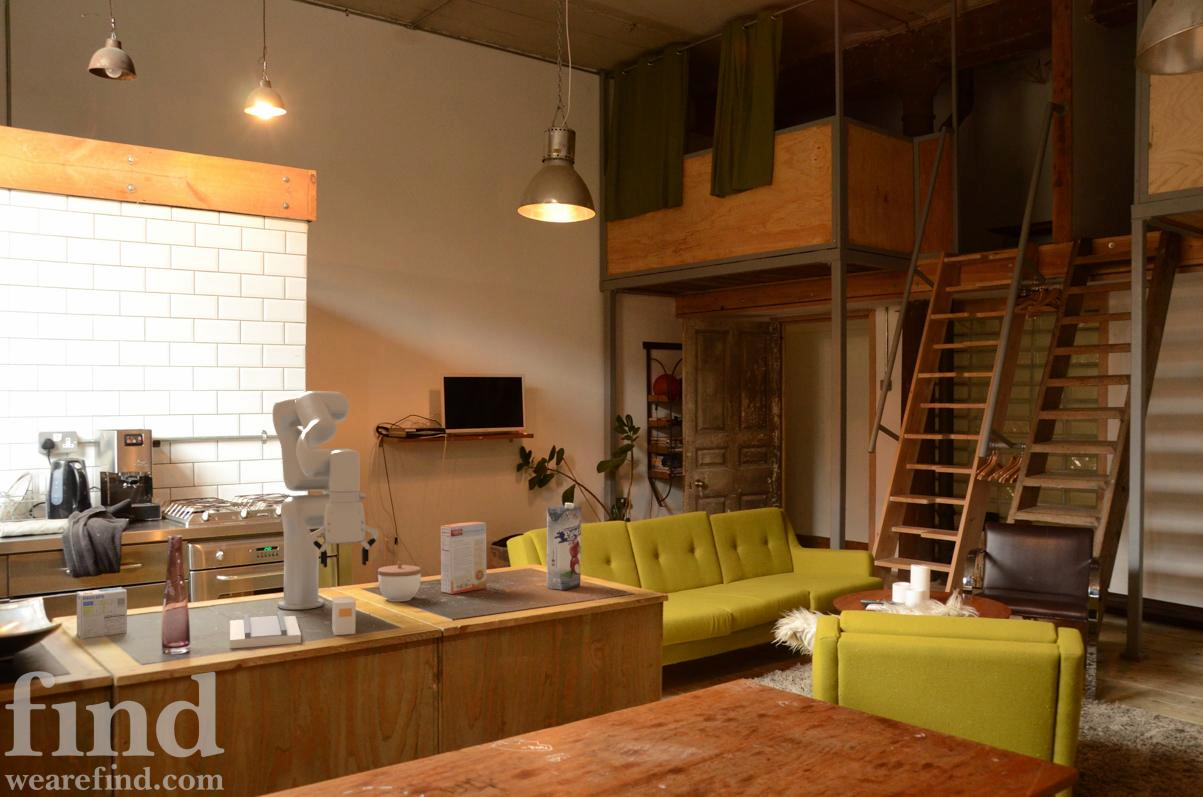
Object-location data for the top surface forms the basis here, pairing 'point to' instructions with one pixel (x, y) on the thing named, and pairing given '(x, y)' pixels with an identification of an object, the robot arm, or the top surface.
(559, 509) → the juice carton
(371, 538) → the robot arm
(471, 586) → the cracker box
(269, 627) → the rail board
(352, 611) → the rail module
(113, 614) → the light bulb box
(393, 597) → the lidded bowl
